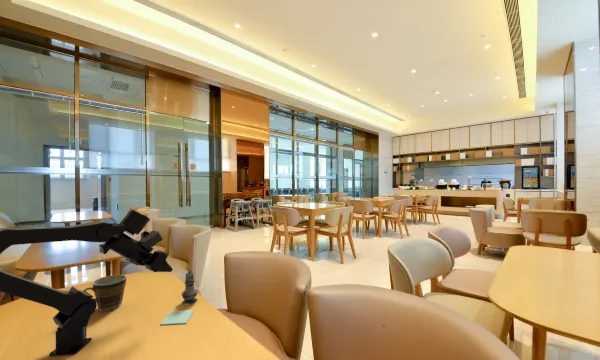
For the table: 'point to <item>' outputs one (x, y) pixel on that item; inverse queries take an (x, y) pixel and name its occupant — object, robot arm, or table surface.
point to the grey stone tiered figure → (189, 290)
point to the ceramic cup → (109, 292)
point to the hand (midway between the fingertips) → (164, 268)
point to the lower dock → (177, 317)
